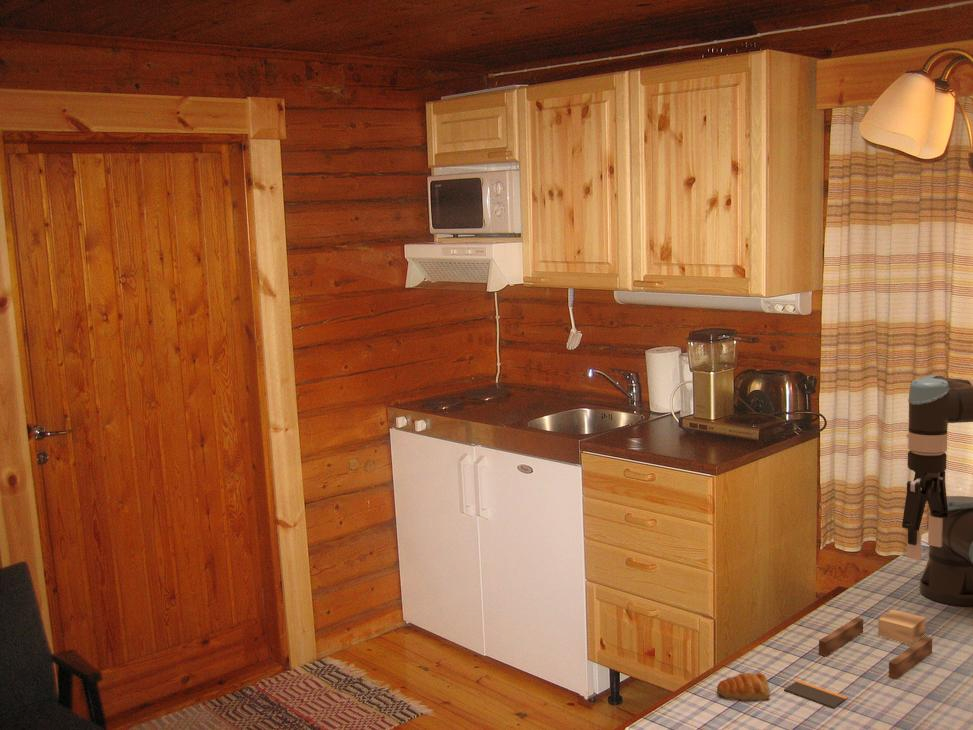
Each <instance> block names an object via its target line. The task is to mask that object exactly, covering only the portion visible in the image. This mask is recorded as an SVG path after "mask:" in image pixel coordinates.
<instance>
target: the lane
mask: <svg viewBox="0 0 973 730" xmlns="http://www.w3.org/2000/svg"><path fill="white" fill-rule="evenodd" d="M862 632H863V633H864V618H861V617H857V616H856V617H854V618H853V619H851V620H850V621H848V622H846V623H845V624H843V625H842V626H840V627H838V628H837V629H835V630H834V631H832V632H831V633H828V634H827V635H825V636H824V637H822V638H820V639H819V640H818V655H819V654H820V656H822V655H823V656H822V657H825V656H826V657H828V656H829V655H830V653H831V652H832V653H833V651H834V652H835V651H836V649H837V650H838V649H840V648H841V647H843V646H844V645H846V644H847V643H846V642H848V641H849V642H851V641H852V640H854V639H855V638H857V637H858V636H860V635H861V634H863V633H862ZM860 633H861V634H860ZM859 634H860V635H859ZM857 635H858V636H857ZM856 636H857V637H856ZM854 637H855V638H854ZM853 638H854V639H853ZM851 639H852V640H851ZM850 640H851V641H850ZM849 642H848V643H849ZM845 643H846V644H845ZM843 644H844V645H843ZM842 645H843V646H842ZM840 646H841V647H840ZM839 647H840V648H839ZM832 653H831V654H832ZM932 653H933V638H932V637H928V636H926V635H924V636H923V637H922V638H920V639H919V640H918V641H917V642H915V643H914V644H913V645H910V646H909V647H908V648H906V649H905V650H904V651H902V652H901V653H899V654H898V655H897V656H895V657H894V658H893V659H891V660H890V661H889V662H888V678H891V679H893V680H894V679H895V680H898V679H899V678H900V677H901V676H903V675H904V674H905V673H907V672H908V671H909V670H911V669H912V668H914V667H915V666H916V665H917V664H919V663H920V662H921V661H923V660H924V659H925V658H927V657H928V656H929V655H931V654H932Z"/></svg>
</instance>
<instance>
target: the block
mask: <svg viewBox="0 0 973 730" xmlns="http://www.w3.org/2000/svg"><path fill="white" fill-rule="evenodd" d="M926 621H927V619H926V617H924V616H921V615H916V614H912V613H909V612H904V611H901V610H896V609H891V610H889V611H888V612H886V613H885V614H884V615H882V616H881V617H880V618H879V619H878V633H877V634H878V635H877V637H879V636H882V637H881V638H883V637H886V638H888V639H887V640H890V639H892V640H891V641H894V640H896V641H895V642H897V641H899V642H898V643H901V642H903V643H902V644H905V643H907V644H906V645H908V644H910V645H909V646H912V644H913V645H914V644H915V643H916V641H917V640H918V639H919V638H920V639H922V638H923V637H924V636H925V635H926ZM924 634H925V635H924ZM923 635H924V636H923ZM922 636H923V637H922ZM921 637H922V638H921ZM886 638H885V639H886ZM920 639H919V640H920ZM919 640H918V641H919ZM918 641H917V642H918Z"/></svg>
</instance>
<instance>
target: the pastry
mask: <svg viewBox="0 0 973 730" xmlns="http://www.w3.org/2000/svg"><path fill="white" fill-rule="evenodd" d="M716 691H717V693H718V694H720V696H722V697H723V698H726V699H728V698H735V699H734V700H737V699H740V700H739V701H742V700H746V701H765V700H766V699H767V700H768V699H769V698H770V697H771V690H770V686H769V683H768V678H767V677H766V675H765V674H764V673H762V672H760V671H759V672H757V673H744V672H742V673H739V674H738V675H735V676H733V677H732V676H731V677H727V678H726V679H723V680H721V681H719V683H718V684H717V689H716Z"/></svg>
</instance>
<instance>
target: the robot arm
mask: <svg viewBox="0 0 973 730" xmlns="http://www.w3.org/2000/svg"><path fill="white" fill-rule="evenodd" d="M907 400H908V401H907V402H908V433H907V434H906V437H907V439H908V442H907V443H908V444H907V446H908V447H907V448H908V450H909V451H908V452H907V468H908V469H909V470H910V471H913V472H914V477H913V481H911V480H908V481H907V482H906V496H905V503H904V510H903V515H902V516H903V517H902V524H901V527H902V528H903V529H906V530H907V532H906V558H908V559H912V560H915V561H916V560H917V561H921V559H922V529H920V527H921V525H922V524H921V523H922V519H923V515H924V512H925V511H924V510H925V508H926V503H927V504H928V508H929V513H928V515H929V516H928V530H927V531H928V534H927V535H928V537H927V538H928V539H927V545H928V560H927V563H926V565H925V567H924V570H923V572H922V575H921V577H920V580H919V591H920V594H922V596H924V597H925V598H928V599H930V600H931V601H934V602H937V603H941V604H945V605H951V606H958V607H959V606H960V607H973V496H968V495H967V496H965V495H948V496H947V489H946V488H947V486H946V470H947V456H948V455H947V454H946V452H947V450H948V424H956V423H957V424H958V423H973V380H971V379H961V378H951V377H945V376H943V375H934V374H931V375H926V376H925V377H924V376H923V378H922V377H921V378H916V379H914V380H912V381H911V383H910V385H909V393H908V399H907Z"/></svg>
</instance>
